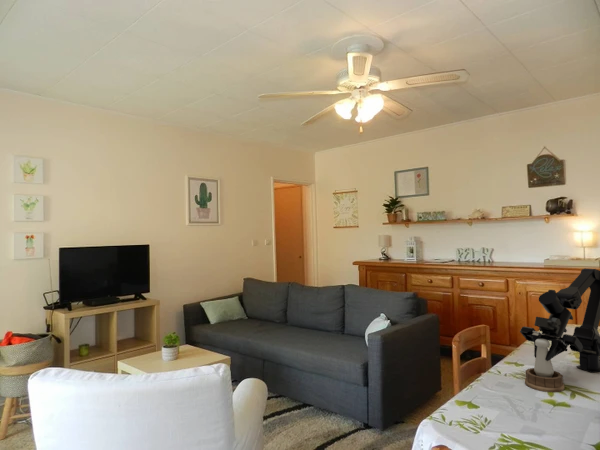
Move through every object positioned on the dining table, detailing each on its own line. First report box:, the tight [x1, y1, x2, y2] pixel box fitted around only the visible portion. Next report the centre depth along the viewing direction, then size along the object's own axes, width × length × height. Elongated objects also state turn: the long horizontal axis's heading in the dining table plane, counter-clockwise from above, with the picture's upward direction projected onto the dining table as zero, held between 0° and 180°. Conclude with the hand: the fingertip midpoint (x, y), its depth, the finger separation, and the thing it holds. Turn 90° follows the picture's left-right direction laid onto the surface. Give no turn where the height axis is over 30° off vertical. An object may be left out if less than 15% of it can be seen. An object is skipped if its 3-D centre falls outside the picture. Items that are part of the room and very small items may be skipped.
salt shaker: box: [533, 339, 555, 378], centre depth 137 cm, size 6×6×13 cm
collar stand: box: [524, 367, 566, 393], centre depth 136 cm, size 12×12×4 cm
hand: (540, 358), depth 136 cm, fingers closed on salt shaker, 3 cm apart
